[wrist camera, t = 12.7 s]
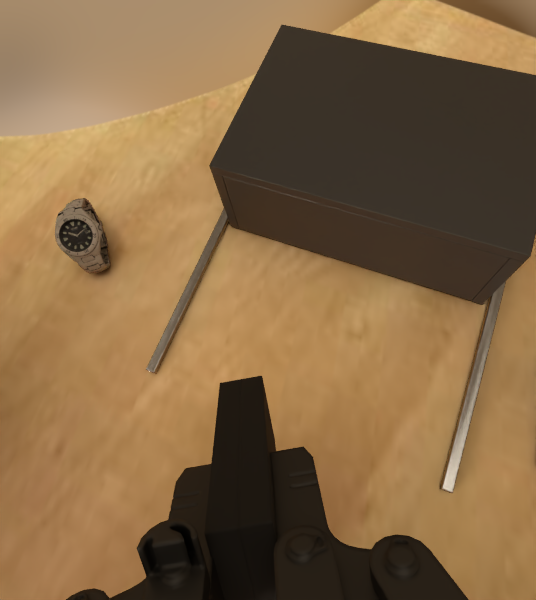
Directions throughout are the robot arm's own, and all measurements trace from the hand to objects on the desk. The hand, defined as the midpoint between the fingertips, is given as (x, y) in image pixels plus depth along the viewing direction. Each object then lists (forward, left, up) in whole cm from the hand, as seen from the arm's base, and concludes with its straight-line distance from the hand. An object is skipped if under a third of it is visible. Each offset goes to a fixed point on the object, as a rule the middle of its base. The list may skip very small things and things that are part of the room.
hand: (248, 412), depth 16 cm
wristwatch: (-20, +9, -16) cm, 27 cm away
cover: (0, +21, -16) cm, 26 cm away
